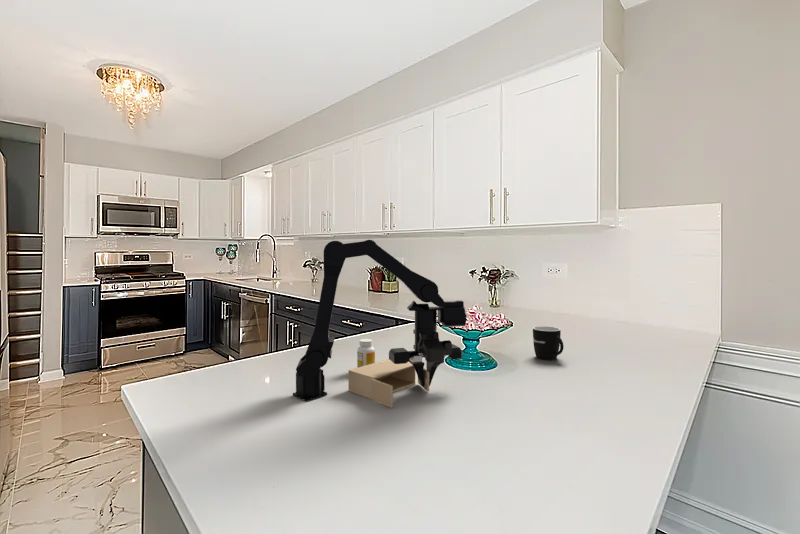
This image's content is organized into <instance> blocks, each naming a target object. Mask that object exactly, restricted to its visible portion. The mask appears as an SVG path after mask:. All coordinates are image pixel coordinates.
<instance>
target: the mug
mask: <svg viewBox="0 0 800 534" xmlns="http://www.w3.org/2000/svg"><path fill="white" fill-rule="evenodd" d="M532 341H533V343H532V344H533V348H534V349H533V350H534V355H535V357H536V358H537V359H539V360H543V361H554V360H556V359H557V358H558V356H559V355H561V354H562V353H563V351H564V342H563V340H562V338H561V328H559V327H555V326H547V325H542V326H539V325H538V326H534V327H533V328H532Z"/></svg>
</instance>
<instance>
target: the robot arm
mask: <svg viewBox="0 0 800 534" xmlns="http://www.w3.org/2000/svg"><path fill="white" fill-rule="evenodd" d="M362 256H368V257H369V258H370V259H371V260H373V261H374V262H376V263H377V264H378V265H380V266H381V267H382V268H384V269H385V270H386V271H388V273H390V274H392V275H393V277H396V278H397V279H398V280H400V281H401V282H402V283H403V284H404V285H405V287H406V288H408V290H409V291H410V292H411V293H412V294H413V295H414V296H415V297H416V298H417V300H419V301H421V302H422V303H417V302H416V301H415V300H412V301H411V303H410V304H408V306H407V307H406V308H407V310H408V311H410V312H414V329H413V330H412V331H413V334H414V344H413V348H412V349H413V350H407V349H406V348H404V347H395V348H390V350H389V351H388V359H390V360H391V361H392V362H393V363H394V364H404V363H411V364H412V365H413V366H414V368H415V374H417V375H416V376H417V379H418V378H419V381H420V384H421V385H420V384H419V385H420V386H421V387H422V388H423V387H424V370H423V368H424V367H425V366H426V367H425V368H424V369H426V370H427V371H428V372H429V387H430V386H431V384H432V381H433V378H434V376H435V373H436V371H437V369H438V367H439V366H440V365H441V364H444V363H445V358H446V356H448V357H449V358H450V359H451V360H461V359H463V350H462V348H460V347H459V346H457V345H455V344H453V343H452V341H451V340H448V339H447V340H440V338H439V337H440V336H439V332H438V331H437V328H438V327H437V325H438V324H441V325H442V327H443V328H446V327H448V328H449V327H465V326H466V323H467V313H466V309H465V306H464V305H465V302H464V301H463V300H450V301H445V300H444V298H443V297H442V296H441V295H440V294H439V286H438V285H437V284H436V282H434V281H433V280H431V279H429V278H427V277H425V276H422V274H419V273H417V272H415V271H413V270H411V269H410V268H408V267H407V266H406V265H404V264H403V263H402V262H401V261H400V260H398V259H397V258H396V257H394V256H393V255H391V254H390V253H389V252H388V251H386V250H385V249H383V248H382V247H381V246H379V245H378V243H376V241H374V240H373V239H366V240H364V241H363V240H362V241H357V242H356V241H355V242H347V243H343V242H341V241H339V240H331V241H329V242H328V243H327V244H326V245H325V246H324V249H323V280H322V286H321V290H320V296H319V302H318V308H317V313H316V319H315V325H314V329H313V330H314V331H313V332H312V336H311V338H310V340H309V343H308V347H307V349H306V352H305V354H304V355H303V356H302V357H301V358H299V361H298V364H297V365H296V368H295V371H296V372H295V392H292V396H293V397H296V398H298V399H300V400H302V401H306V402H309V401H312V400H315V399H318V398H322V397H324V396H327V395H328V392H327V391H325V387H326V386H325V383H326V381H325V374H324V369H322V368H323V367H324V366H325V365H326V364H327V363H328V361H329V359H332V354H333V346H334V343H335V337H334V336H333V337H330V325H331V322H332V315H333V310H334V304H335V297H336V293H337V287H338V282H339V277H340V275H341V272H342V268H343V267H344V263H345V262H346V261H345V260H346V259H347V258H348V259H350V258H355V257H362ZM429 303H431V304H434V305H435V306H429ZM437 322H438V324H437ZM423 358H424V359H425V362H426V365H425V362H423Z"/></svg>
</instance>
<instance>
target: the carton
mask: <svg viewBox="0 0 800 534" xmlns="http://www.w3.org/2000/svg"><path fill="white" fill-rule="evenodd" d="M347 371H348V373H347V374H348V376H347V377H348V378H347V379H348V392H350V393H354V394H357V395H359V396H362V397H365V398H368V399H371V379H375V380H378V381H380V382H383V383H386V384H389V385H391V386H393V393H396V392H399V391H401V390H404V389H407V388H409V387H412V386H415V385H416V384H417V383H416V370H415V368H414V366H413V365H412V364H411V363H410V362H407V363H404V364H394V363H393V362H392V361H391V360H390V359H389V358H388V359H385V360H381V361H376V362H375V363H373V364H369V365H366V366H362V367H358V368H357V367H355V368H351V369H348V370H347Z"/></svg>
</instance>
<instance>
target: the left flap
mask: <svg viewBox="0 0 800 534" xmlns="http://www.w3.org/2000/svg"><path fill="white" fill-rule="evenodd" d="M393 393H394V392H393V386H391V385H389V384H386V383H383V382H380V381H378V380H375V379H371V398H370V400H371V401H375V402H377V403H380V404H382V405H384V406H387V407H389V408H393V407H394V405H393V403H394V402H393V401H394V399H393V397H394V394H393Z"/></svg>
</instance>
